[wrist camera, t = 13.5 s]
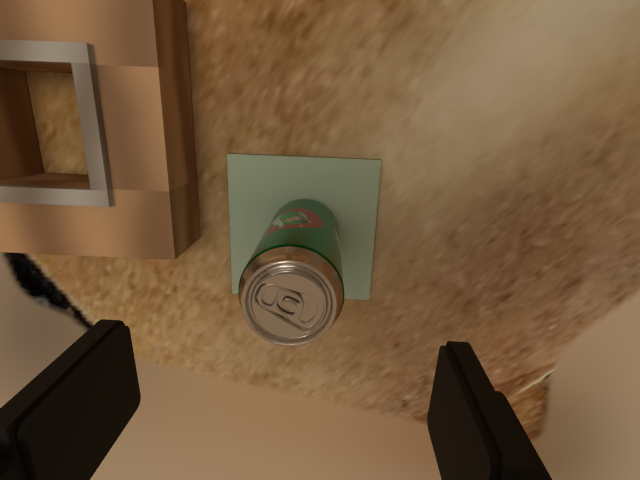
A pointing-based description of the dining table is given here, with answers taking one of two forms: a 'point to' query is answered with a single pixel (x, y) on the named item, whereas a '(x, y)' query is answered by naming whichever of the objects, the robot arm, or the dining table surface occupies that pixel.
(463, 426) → the robot arm
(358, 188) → the mat
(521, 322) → the dining table surface
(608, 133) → the dining table surface
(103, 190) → the housing
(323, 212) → the soda can
